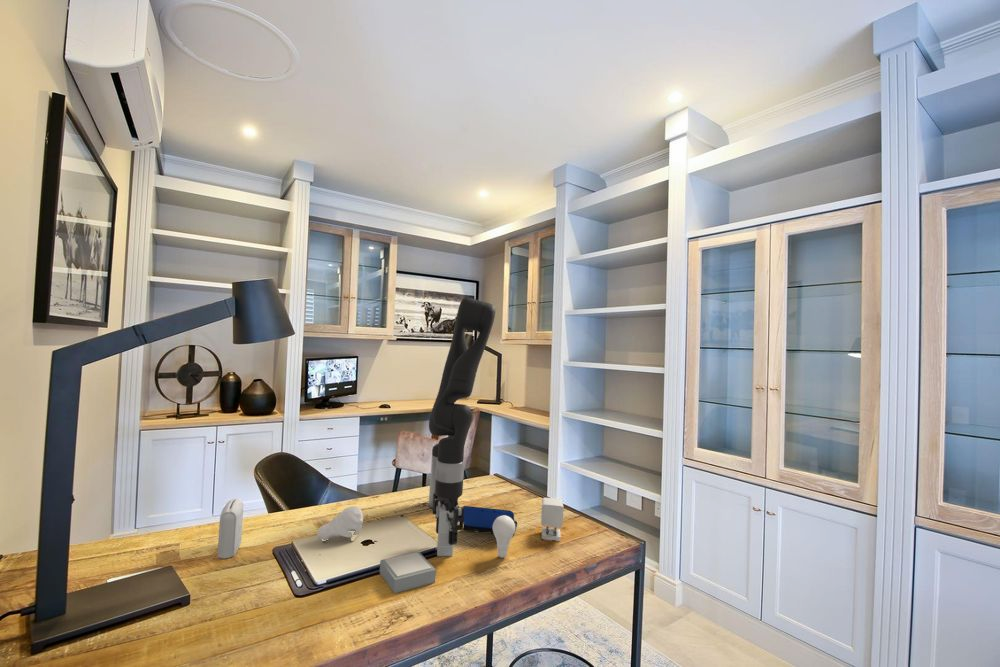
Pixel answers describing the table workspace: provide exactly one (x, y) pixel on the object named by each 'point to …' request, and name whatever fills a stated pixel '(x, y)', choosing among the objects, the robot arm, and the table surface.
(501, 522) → the lightbulb
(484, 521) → the handheld game console
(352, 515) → the white rounded figure
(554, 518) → the white block on posts
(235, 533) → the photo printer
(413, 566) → the plinth
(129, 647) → the table surface
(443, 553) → the skincare box
